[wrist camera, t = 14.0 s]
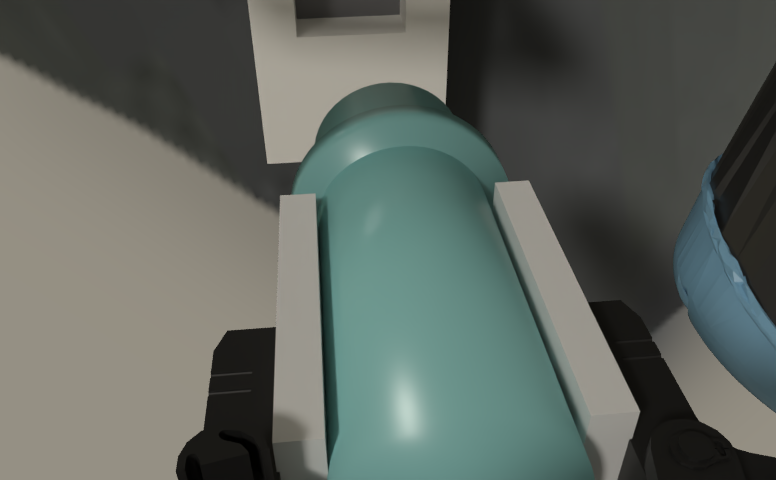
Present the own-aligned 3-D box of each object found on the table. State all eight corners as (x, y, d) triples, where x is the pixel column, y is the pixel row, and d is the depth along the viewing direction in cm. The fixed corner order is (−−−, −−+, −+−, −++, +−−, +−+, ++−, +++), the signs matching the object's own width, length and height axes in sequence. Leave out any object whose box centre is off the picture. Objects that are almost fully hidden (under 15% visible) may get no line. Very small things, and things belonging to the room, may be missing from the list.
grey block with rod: (444, -276, 30) (534, -263, 19) (431, 117, 41) (484, 279, 29) (223, -274, 29) (178, -258, 18) (269, 126, 40) (259, 295, 29)
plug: (492, 58, 18) (673, 374, 10) (474, 226, 21) (598, 587, 13) (285, 61, 18) (274, 399, 9) (296, 234, 21) (295, 614, 12)
